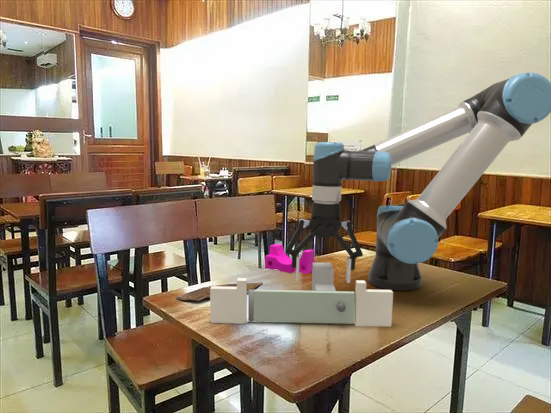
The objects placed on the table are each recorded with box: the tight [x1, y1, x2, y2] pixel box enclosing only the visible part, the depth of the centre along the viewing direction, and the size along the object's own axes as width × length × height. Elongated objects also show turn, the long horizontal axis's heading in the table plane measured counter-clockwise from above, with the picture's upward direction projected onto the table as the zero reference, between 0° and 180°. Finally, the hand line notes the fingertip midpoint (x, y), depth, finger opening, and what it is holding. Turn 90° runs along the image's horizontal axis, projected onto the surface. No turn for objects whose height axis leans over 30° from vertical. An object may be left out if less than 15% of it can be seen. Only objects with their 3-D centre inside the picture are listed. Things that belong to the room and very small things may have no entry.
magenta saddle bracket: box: [264, 243, 315, 275], centre depth 136 cm, size 15×6×8 cm, turn 55°
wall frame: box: [209, 277, 394, 328], centre depth 94 cm, size 41×2×10 cm, turn 89°
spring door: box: [247, 289, 355, 324], centre depth 93 cm, size 24×3×7 cm, turn 89°
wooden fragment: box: [175, 282, 263, 302], centre depth 115 cm, size 26×11×1 cm, turn 120°
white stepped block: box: [311, 262, 337, 291], centre depth 111 cm, size 5×12×8 cm, turn 0°
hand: (322, 280), depth 112 cm, fingers open, 13 cm apart
